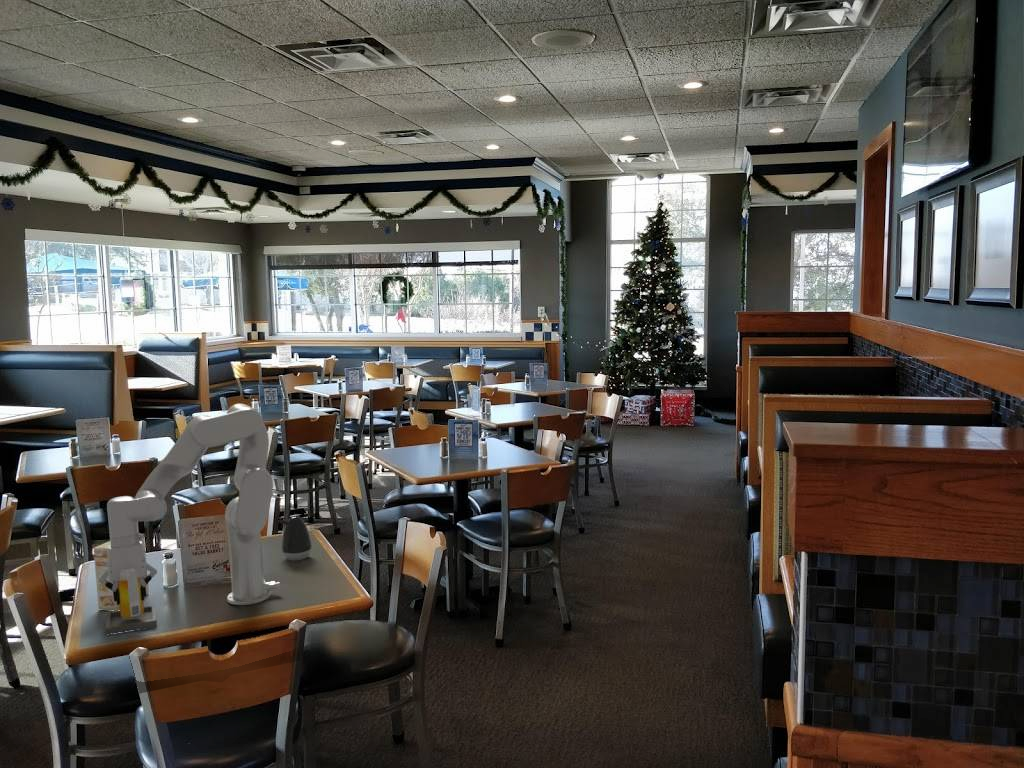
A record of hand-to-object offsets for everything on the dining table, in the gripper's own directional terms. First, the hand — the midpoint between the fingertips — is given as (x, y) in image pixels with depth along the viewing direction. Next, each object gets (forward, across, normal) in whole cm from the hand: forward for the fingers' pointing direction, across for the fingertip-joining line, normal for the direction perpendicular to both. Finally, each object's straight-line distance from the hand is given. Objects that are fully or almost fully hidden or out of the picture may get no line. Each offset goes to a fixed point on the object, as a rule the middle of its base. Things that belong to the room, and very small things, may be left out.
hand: (130, 600), depth 244 cm
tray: (+7, 0, 0) cm, 7 cm away
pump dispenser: (+7, -53, -35) cm, 64 cm away
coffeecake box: (+7, +2, -19) cm, 20 cm away
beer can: (+5, 0, 0) cm, 5 cm away
